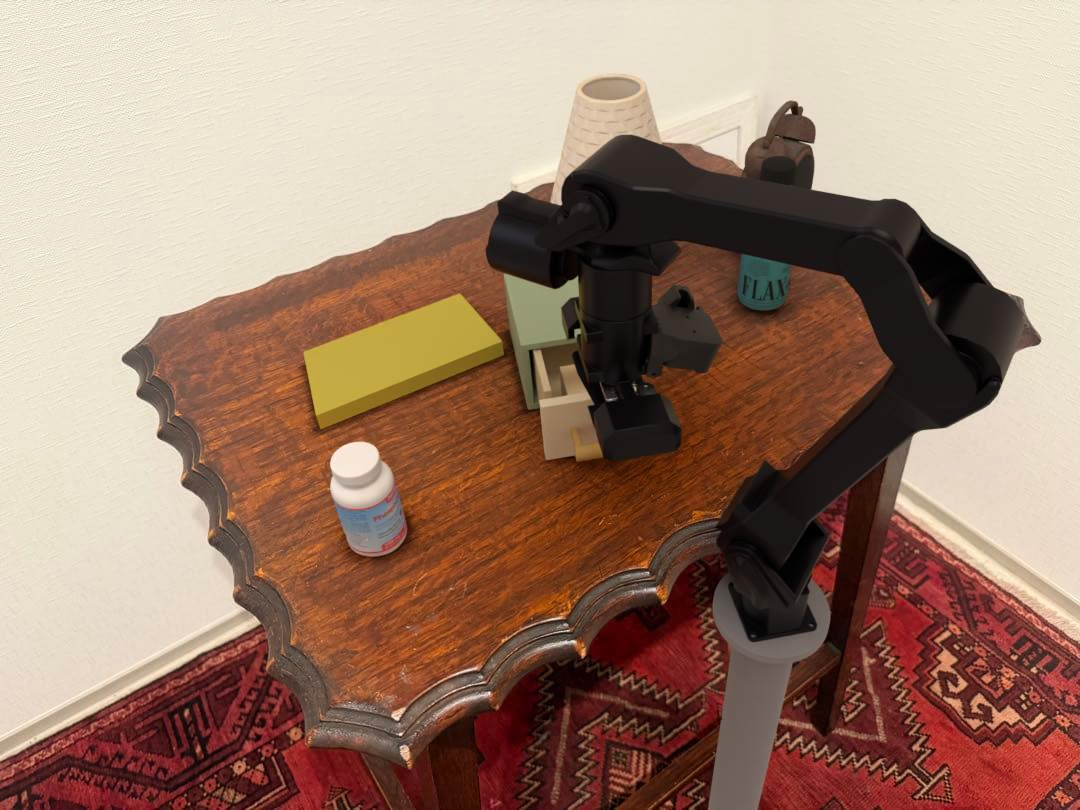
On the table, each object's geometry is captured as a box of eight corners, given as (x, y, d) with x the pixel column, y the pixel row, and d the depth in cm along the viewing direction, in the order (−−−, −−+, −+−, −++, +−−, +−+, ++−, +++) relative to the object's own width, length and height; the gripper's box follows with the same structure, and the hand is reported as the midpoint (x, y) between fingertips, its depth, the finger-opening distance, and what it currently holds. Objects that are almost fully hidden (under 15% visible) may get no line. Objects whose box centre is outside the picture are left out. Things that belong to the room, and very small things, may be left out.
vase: (662, 286, 116) (668, 122, 100) (538, 273, 120) (524, 113, 105) (684, 218, 128) (691, 62, 112) (570, 208, 132) (562, 57, 117)
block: (615, 423, 95) (614, 389, 91) (570, 430, 94) (567, 396, 91) (605, 393, 98) (604, 359, 95) (561, 400, 98) (559, 366, 95)
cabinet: (634, 392, 101) (634, 327, 94) (528, 410, 100) (520, 345, 94) (607, 318, 112) (605, 255, 105) (510, 334, 111) (502, 271, 104)
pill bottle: (398, 562, 85) (375, 486, 78) (339, 556, 86) (311, 480, 79) (415, 515, 90) (395, 438, 82) (359, 509, 91) (334, 433, 83)
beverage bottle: (729, 316, 110) (744, 172, 97) (741, 287, 115) (756, 145, 101) (782, 325, 108) (803, 179, 95) (791, 295, 113) (813, 151, 99)
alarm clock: (774, 278, 115) (793, 137, 102) (723, 264, 119) (736, 125, 105) (813, 226, 124) (836, 89, 111) (765, 215, 127) (781, 80, 114)
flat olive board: (462, 306, 116) (289, 372, 108) (460, 293, 114) (284, 358, 107) (504, 354, 108) (320, 429, 100) (502, 341, 106) (315, 415, 99)
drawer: (660, 471, 90) (662, 417, 85) (553, 490, 90) (548, 436, 84) (620, 364, 103) (620, 311, 98) (526, 379, 103) (521, 327, 97)
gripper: (755, 357, 62) (737, 501, 73) (681, 224, 76) (675, 361, 86) (602, 383, 61) (606, 524, 72) (555, 243, 75) (564, 379, 85)
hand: (617, 440), depth 79 cm, fingers open, 3 cm apart
